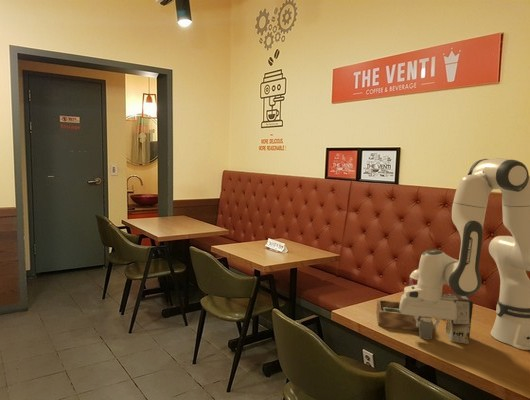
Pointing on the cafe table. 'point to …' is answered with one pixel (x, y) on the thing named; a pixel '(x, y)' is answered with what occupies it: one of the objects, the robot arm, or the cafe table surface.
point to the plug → (426, 328)
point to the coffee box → (460, 320)
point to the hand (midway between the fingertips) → (425, 327)
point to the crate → (394, 316)
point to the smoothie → (414, 277)
